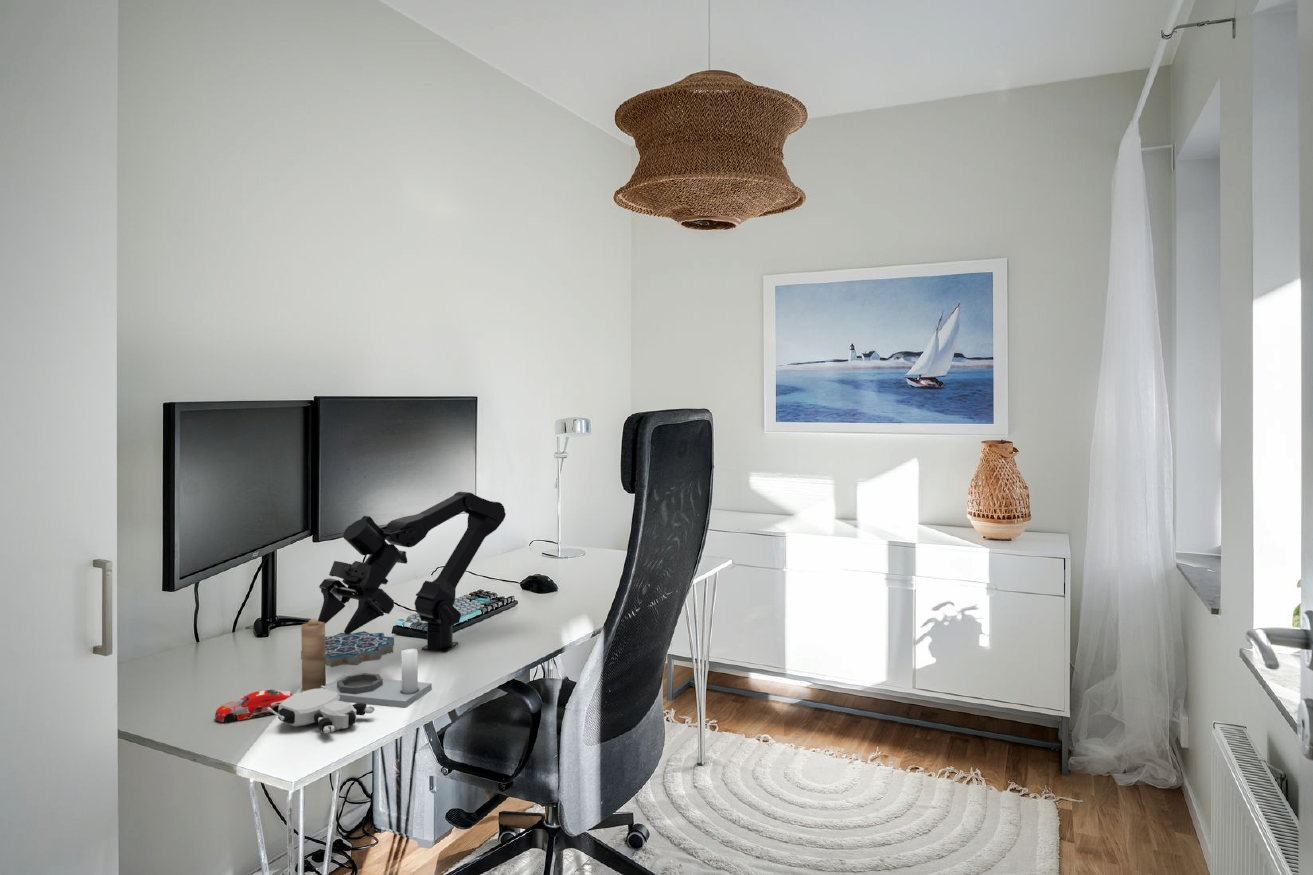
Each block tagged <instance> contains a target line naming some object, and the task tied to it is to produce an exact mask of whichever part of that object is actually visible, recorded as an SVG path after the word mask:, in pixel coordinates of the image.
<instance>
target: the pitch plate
mask: <svg viewBox="0 0 1313 875" xmlns="http://www.w3.org/2000/svg"><path fill="white" fill-rule="evenodd" d="M400 652H401V653H400V654H401V679H391V678H390V679H388V678H382V676H381V675H380V674H378V673H367V672H366V673H365V672H364V673H358V674H351V675H347V674H344V675H342V676H340V677H338V678H336V679H335V680H333V681H331V682H329V683H326V685H325V686H324V687H325V688H326V689H328V690H330V691H334V692H337V693H338V694H339V696H340V701H343V702H347V703H355V704H356V703H362V704H366V705H367V704H368V705H379V706H386V707H395V708H396V707H397V708H407V707H408V706H411V704H413V703H414V702H416V701H417V700H419V698H421V697H422V696H424V695H426V694H427V693H428V692H430V691H431V690H432V689H433V688H432V686H433V685H432V684H433V683H431V682H421V681H419V678H418V662H419V661H418V649H417V648H406V649H403V650H401V651H400Z"/></svg>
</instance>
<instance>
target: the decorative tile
mask: <svg viewBox="0 0 1313 875" xmlns="http://www.w3.org/2000/svg"><path fill="white" fill-rule="evenodd" d="M393 645H394V646H395V637H393V636H385V633H384V632H378V633H377V632H375V633H374V632H373V633H372V632H371V633H369V632H367V631H365V630H363V631H358V632H352V633H350V634H348V635H347V634H345V633H344V632H339V633H337V634H335V635H333V636H332V635H331V636H325V660H326V666H328V667H329V668H332V667H333V668H334V667H337V666H342V665H351V666H358V665H360V664H361V663H364V662H367V661H379V660H381V658H382V656H384V655H388V654H387V653H389V654H392V653H391V652H393V653H394V646H393ZM300 660H302V650H300Z"/></svg>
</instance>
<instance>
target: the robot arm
mask: <svg viewBox="0 0 1313 875" xmlns="http://www.w3.org/2000/svg"><path fill="white" fill-rule="evenodd" d="M461 513H465V514H467V515H468V516H467V526H466V527H467V528H466V529H465V532H464V533H463V535H462V537H461V538H460V540H459V541H458V543H457V545H456V546H455V547H454V550H453V551H452V553H451V555H450V556H449V558H448V560H447V562H446V563H445V565H444V566H443V568H442V570H441V571H440V572H439V574H438V576H437V578H436V579H434V580H432V581H429V580H425V581H423V583H422V585H421V588H420V589H419V591H418V592H416V594H415V596H416V599H415V601H414V604H413V605H414V608H415V611H416V613H417V614H418V616H419V618H420V621H421V622H425V623H427V625H426V626H427V627H426V630H427V632H426V642H427V644H426V645H424V646H422V647H421V651H426V650H428V651H429V652H438V651H441V652H443V653H447V652H449V651H450V650H452V649H453V648H455V647H457V646H458V645H459V642H458V641H453V626H455V625H457V624H459V623H460V621H461V620H460V619H461V616H462V613H461V612H460V611H459V610H458V609H457V608H456V607H454V605H455V604H454V603H455V602H456V591H457V590H456V589H457V586H458V584H459V583H460V581H461V579H462V578H463V576H464V574H465V573H466V571H467V569H468V567H469V565H470V564H471V562H472V561H473V559H474V557H475V555H476V554H477V552H478V550H479V549H480V547H481V545H482V544H483V542H484V540H485V539H486V538H487V537H488V536H489V535H490V534H492V533H493V532H495V531H497V529H499V527H500V525H502V523H503V522H504V520H505V518H506V509H505V507H504V504H503V503H502V502H499V501H491V500H488V499H485V498H483V497H480V496H477V495H476V494H474V493H472V492H467V491H457V492H455V493H454V494H453V495H452V496H450V497H448V498H446V499H444V500H442V501H440V502H439V503H437V504H434V505H432V506H431V507H429V508H427V509H425V510H423V511H421V512H420V513H419V512H418V513H416V514H412V515H407V516H402V517H399V518H395V519H392V520H390V521H389V522H388V523H387V524H386V525H385V526H381V527H380V526H379V525H378V524H377V523H376V522H375V520H374V519H373V518H372V517H371V516H369V515H363V516H362V517H361V519H358V520H356V521H354V522H353V523H351V524H349V525H348V526H347V527H346V528H345V530H344V531H343V536H342V537H343V539H344V541H346V542H347V543H348V544H349V545H350V546H351V547H352V548H353V549H354V550H355V551H356V552H357V553H358V554H360V555H361V556H368V557H367V558H366V560H365V561H364V562H363V561H362V562H361V561H358V560H354V561H353V563H348V562H345V561H344V562H343V561H337V560H334V561H333V564H332V566H331V567H330V571H329V574H328V575H329V576H330V577H336V578H340V579H342V580H339V579H336V578H335V579H334V578H324V579H323V581H322V582H321V583H320V584H319V586H318V588H319V589H320V593H321V594H322V595H323V603H322V607H321V610H320V612H319V614H318V615H319V616H318V619H317V620H318V622H324V623H325V625H326V624H327V623H328V622H330V620H332V619H333V618H334V617H335V616H336V615H337V614H339V613H340V612H341V611H342V610H343V609H344V608H346V605H345V604H346V603H348V602H349V601H350V600H351V599H352V600H353V599H354V600H357V601H358V605H357V608H356V610H355V612H354V613H353V615H352V617H351V618H350V620H349V621H348V622H347V624H346V626H345V628H344V630H343V633H345V634H347V635H348V634H350V633H351V634H353V633H354V632H355V631H357V630H358V629H359V628H361V627H363V626H364V625H367V624H368V623H370V622H372V621H374V620H375V619H377V618H379V617H383V616H384V615H385V614H386V615H390V613H391V612H392V610H393V609H394V608H395V600H394V599H393V598H392V597H391V596H390V595H389V594H388V593H387V592H386V591H385V590H383V588H381V586H382V585H387V584H388V582H389V580H388V579H387V577H388V576H389V574H390V572H392V570H393V569H394V567H395V566H396V565H397V563H399V564H408V557H407V551H406V550H399V548H397V547H396V546H399V547H404V548H413V547H414V546H416V545H417V544H419V543H420V542H422V541H423V540H424V539H425V538H426V536H427V535H428V533H429V532H430V531H431V530H432V529H435V528H436V527H439V525H441V524H443V523H445V522H447V521H450V519H452V518H455V517H456V516H458V515H460V514H461ZM456 645H457V646H456ZM428 651H427V652H428ZM441 652H440V653H441Z"/></svg>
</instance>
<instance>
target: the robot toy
mask: <svg viewBox="0 0 1313 875" xmlns="http://www.w3.org/2000/svg"><path fill="white" fill-rule="evenodd" d="M267 709H268V710H269V711H271V712H272V714H273V713H274V714H275V715H276V716H277V718H278V719H279V720H278V721H280V722H283V723H286V724H288V725H290V726H292V727H296V728H297V727H302V726H306V725H311V724H314V723H316V724H317V725H318V726H317V727H318V728H319V730H320V731H321V732H322V733H325V734H327V733H331V732H335V731H339V730H341V729H347V728H349V727H350V726H353V725H356V723H357V716H365V715H366V714H367V715H368V714H373V713H374V711H375V707H374V706H372V705H369V706H367V704H366V703H356V702H355V703H353V704H352V702H346V701H340V696H339V694H338V693H337V692H334V691H330V690H328V689H326V688H325V687H324V686H321V688H320V689H311V690H307V691H301V692H298V693H297V692H296V693H295V694H292V696H291V697H289V698H287V699H286V700H284V701H283V702H282V703H281V704H280V705H279V708H278V713H276V712H275V711H273V710H272V709H271V708H270V707H268V708H267ZM274 714H273V715H274ZM275 715H274V716H275Z"/></svg>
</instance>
